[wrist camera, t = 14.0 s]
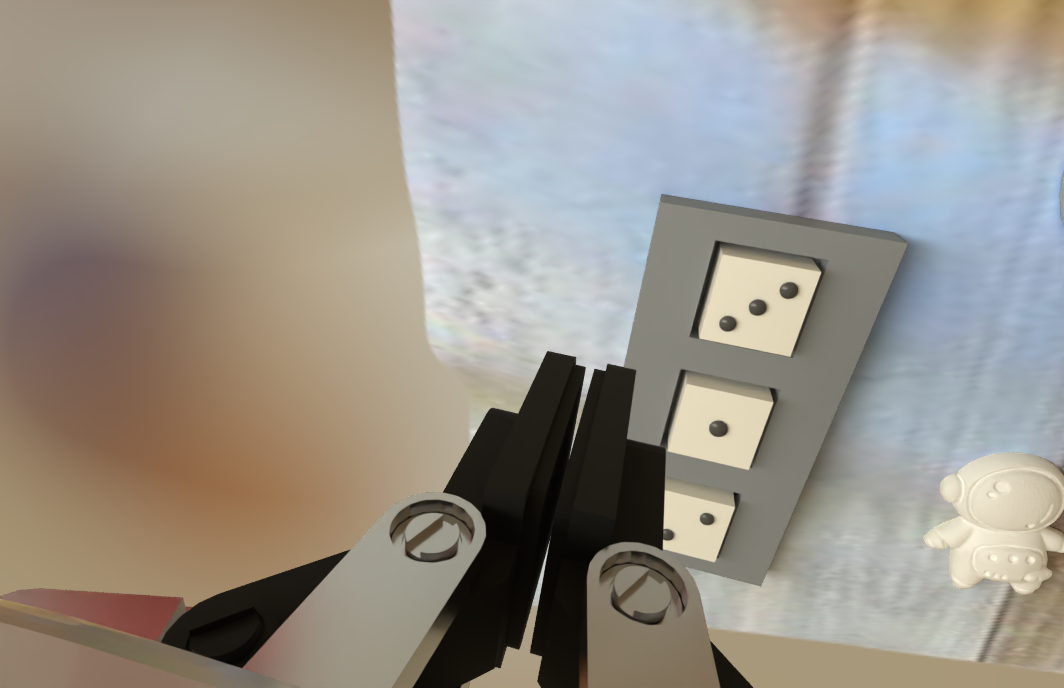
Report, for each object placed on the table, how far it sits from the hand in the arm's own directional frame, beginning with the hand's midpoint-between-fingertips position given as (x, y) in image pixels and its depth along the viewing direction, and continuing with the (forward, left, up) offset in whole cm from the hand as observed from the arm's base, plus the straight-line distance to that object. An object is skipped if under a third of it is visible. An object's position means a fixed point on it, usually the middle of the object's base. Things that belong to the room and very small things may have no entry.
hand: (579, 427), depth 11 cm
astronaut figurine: (-29, +20, -30) cm, 46 cm away
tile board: (-8, +15, -29) cm, 34 cm away
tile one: (-8, +15, -29) cm, 33 cm away
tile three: (-8, +6, -29) cm, 30 cm away
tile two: (-8, +24, -29) cm, 38 cm away
